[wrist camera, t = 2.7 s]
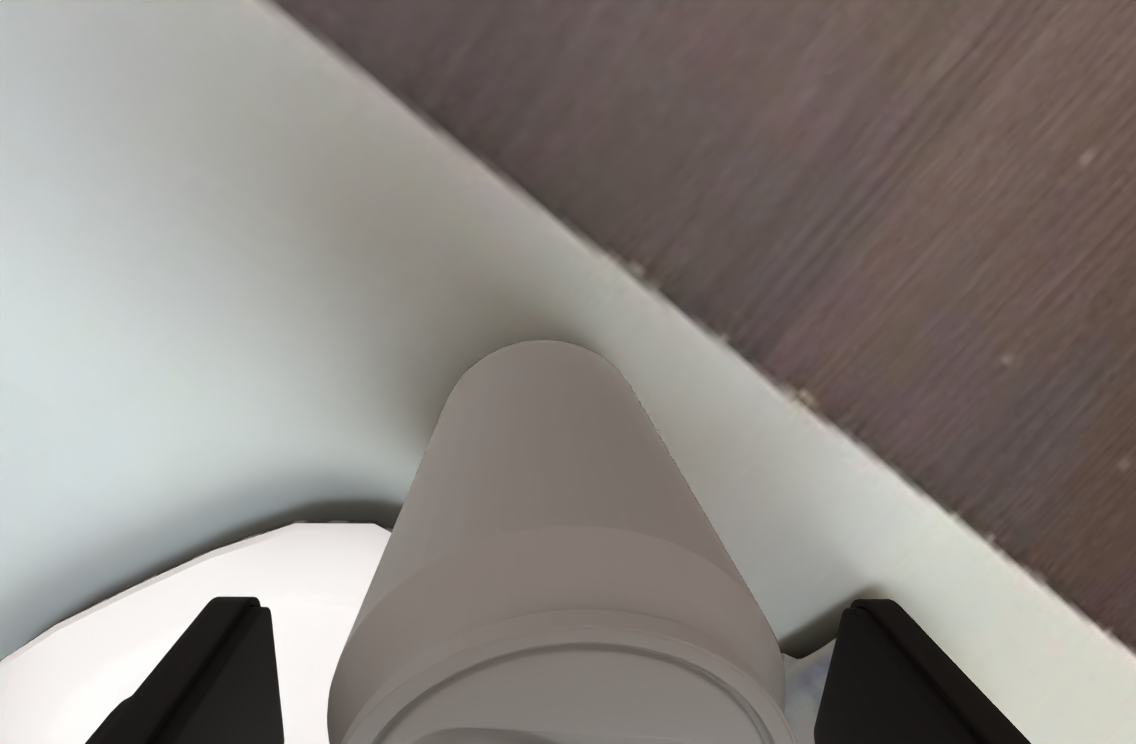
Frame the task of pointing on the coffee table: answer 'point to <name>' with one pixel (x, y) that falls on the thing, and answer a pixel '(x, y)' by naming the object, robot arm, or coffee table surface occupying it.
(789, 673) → the incense holder
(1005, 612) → the coffee table surface
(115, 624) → the plate
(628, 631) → the beverage can
